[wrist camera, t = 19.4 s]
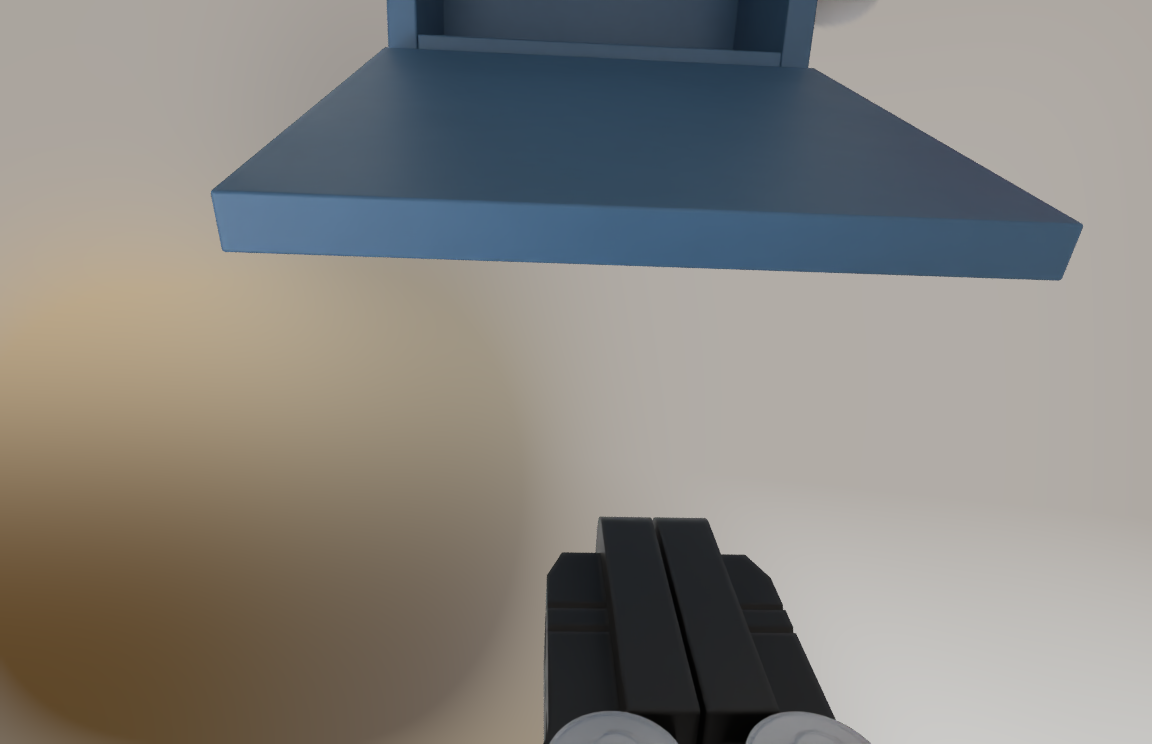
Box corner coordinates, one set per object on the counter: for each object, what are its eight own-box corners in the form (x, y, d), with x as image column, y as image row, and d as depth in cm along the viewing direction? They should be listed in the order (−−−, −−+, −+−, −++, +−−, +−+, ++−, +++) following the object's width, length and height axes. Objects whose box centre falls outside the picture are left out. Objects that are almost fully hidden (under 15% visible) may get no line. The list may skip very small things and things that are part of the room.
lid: (208, 190, 10) (221, 253, 10) (1086, 224, 10) (1062, 281, 11) (383, 47, 20) (386, 80, 21) (815, 67, 21) (808, 100, 21)
